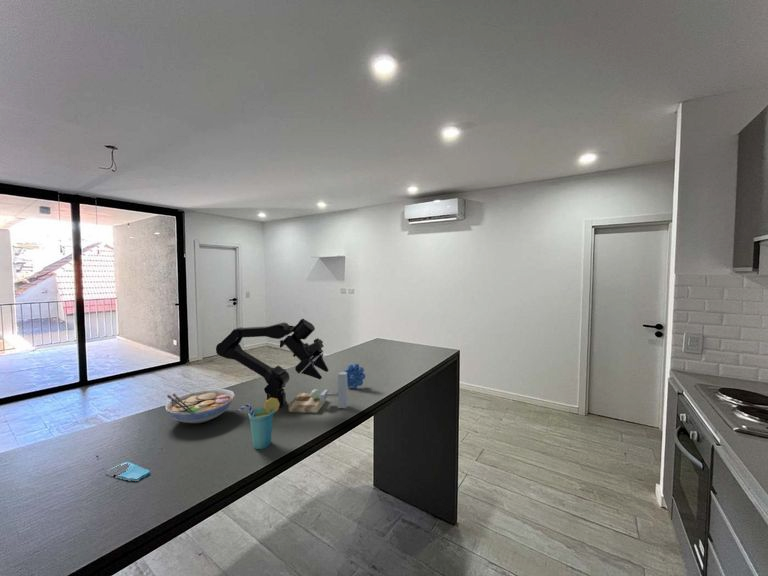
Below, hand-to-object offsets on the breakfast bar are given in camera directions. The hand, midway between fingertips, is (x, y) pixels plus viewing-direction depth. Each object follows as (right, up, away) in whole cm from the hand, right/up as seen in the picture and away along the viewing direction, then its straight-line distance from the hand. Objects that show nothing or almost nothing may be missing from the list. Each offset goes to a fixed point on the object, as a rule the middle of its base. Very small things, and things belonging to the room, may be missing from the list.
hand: (324, 374), depth 130 cm
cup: (-15, -15, -29) cm, 36 cm away
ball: (-4, -8, +1) cm, 9 cm away
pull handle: (+4, -13, 0) cm, 14 cm away
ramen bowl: (-44, -14, -9) cm, 47 cm away
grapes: (+10, -12, +22) cm, 27 cm away
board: (-7, -13, +1) cm, 15 cm away
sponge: (-46, -16, -42) cm, 65 cm away
